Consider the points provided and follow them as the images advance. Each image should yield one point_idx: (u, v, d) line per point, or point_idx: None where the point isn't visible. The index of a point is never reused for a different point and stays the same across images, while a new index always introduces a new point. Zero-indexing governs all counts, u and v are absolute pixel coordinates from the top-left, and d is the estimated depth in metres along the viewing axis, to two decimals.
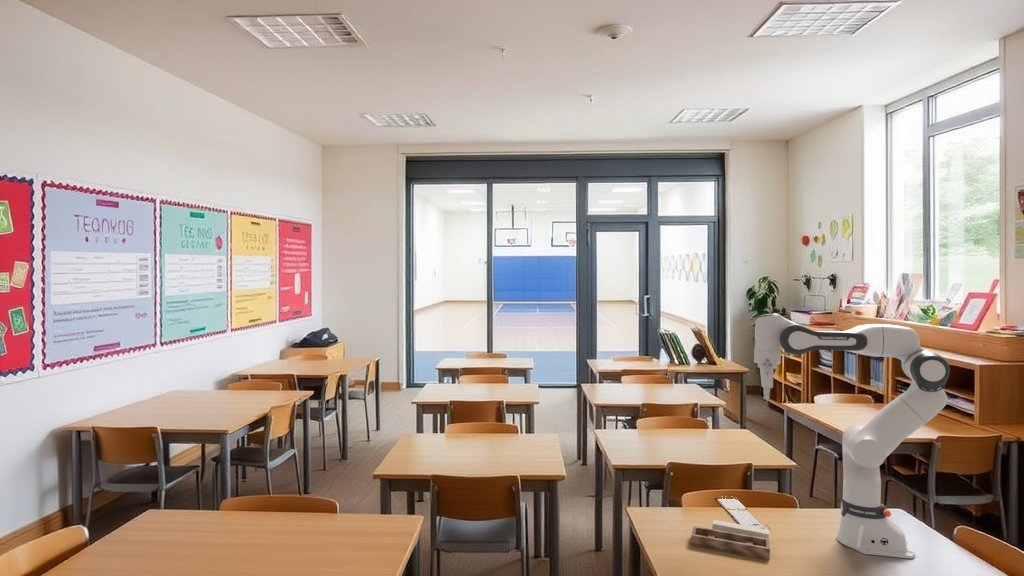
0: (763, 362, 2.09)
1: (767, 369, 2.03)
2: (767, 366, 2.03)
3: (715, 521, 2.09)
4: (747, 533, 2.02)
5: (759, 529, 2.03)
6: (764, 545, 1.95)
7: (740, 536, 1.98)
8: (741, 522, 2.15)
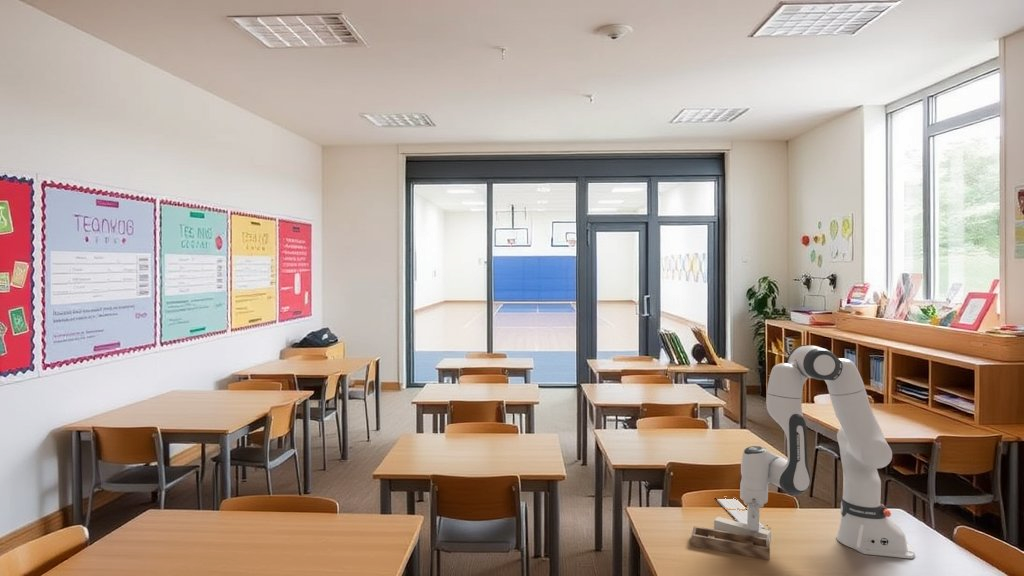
0: (749, 501, 1.99)
1: (753, 513, 1.93)
2: (753, 509, 1.93)
3: (719, 517, 2.11)
4: (747, 532, 2.02)
5: (760, 529, 2.02)
6: (764, 545, 1.95)
7: (740, 536, 1.98)
8: (741, 522, 2.15)
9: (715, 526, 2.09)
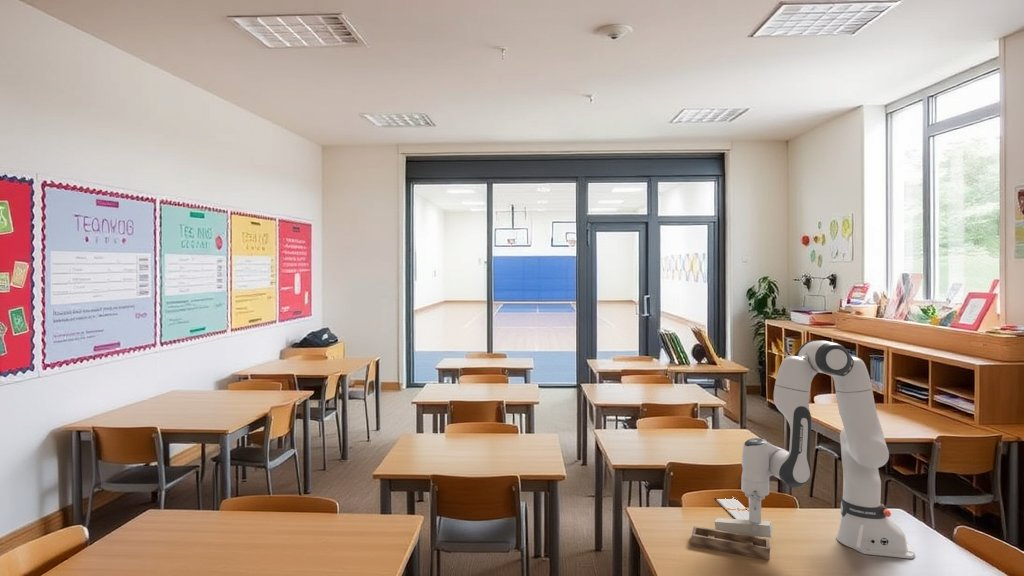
0: (751, 493, 1.99)
1: (755, 505, 1.93)
2: (755, 501, 1.93)
3: (718, 519, 2.10)
4: (749, 527, 2.01)
5: None
6: (764, 545, 1.95)
7: (740, 536, 1.98)
8: None
9: (716, 528, 2.07)
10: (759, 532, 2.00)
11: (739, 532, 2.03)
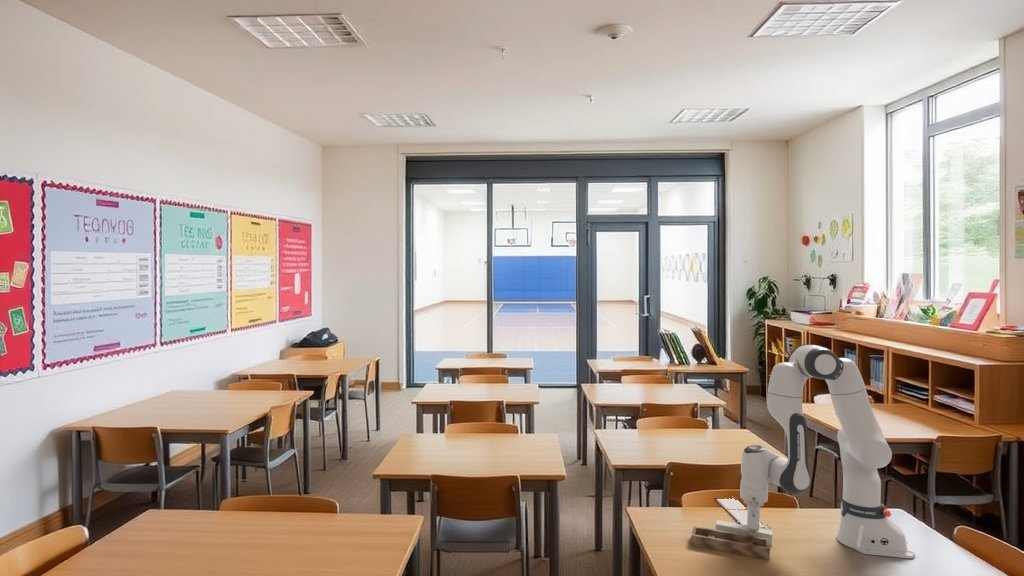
0: (749, 500, 1.99)
1: (753, 512, 1.93)
2: (753, 508, 1.93)
3: (719, 521, 2.08)
4: None
5: (762, 529, 2.02)
6: (764, 545, 1.95)
7: (740, 536, 1.98)
8: (741, 522, 2.15)
9: None
10: None
11: None
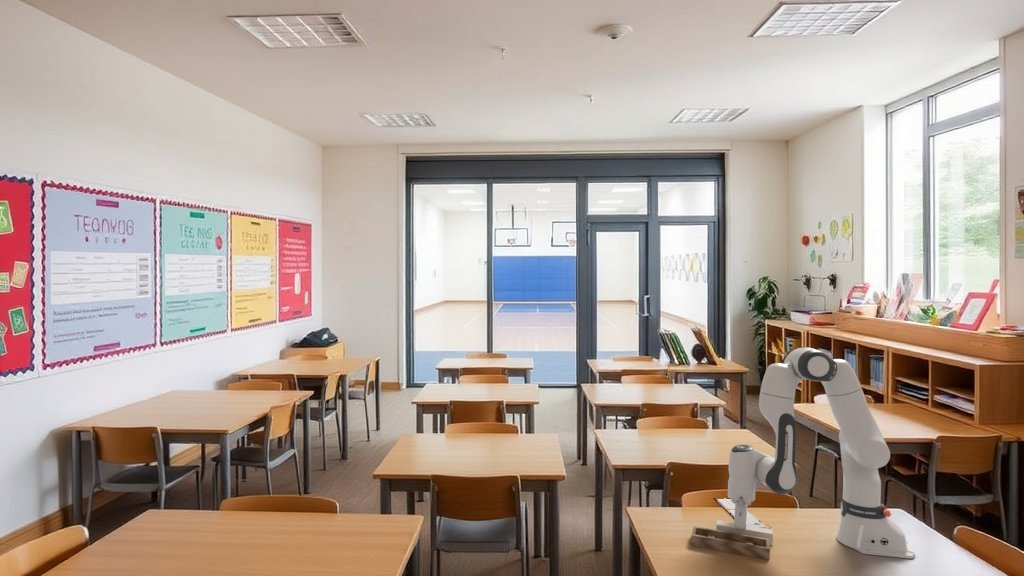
0: (737, 499, 2.01)
1: (740, 511, 1.95)
2: (740, 507, 1.95)
3: (719, 521, 2.08)
4: (751, 533, 2.01)
5: (762, 529, 2.03)
6: (764, 545, 1.95)
7: (740, 536, 1.98)
8: None
9: None
10: None
11: None
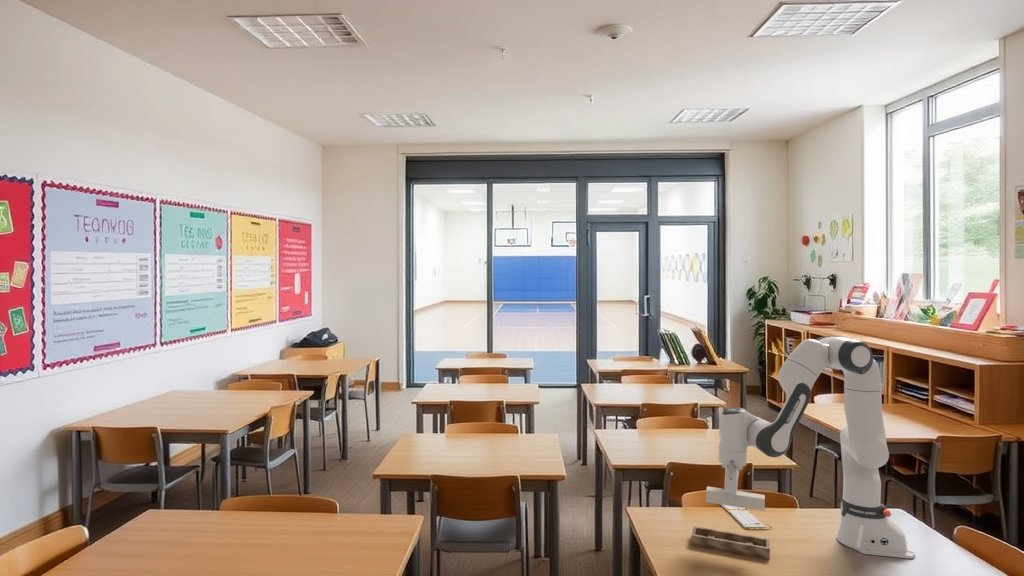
0: (727, 463, 1.92)
1: (730, 474, 1.86)
2: (730, 471, 1.86)
3: (709, 487, 2.00)
4: (742, 499, 1.93)
5: (754, 494, 1.94)
6: (764, 545, 1.95)
7: (740, 536, 1.98)
8: (742, 521, 2.15)
9: (707, 496, 1.97)
10: (752, 505, 1.92)
11: (731, 503, 1.94)
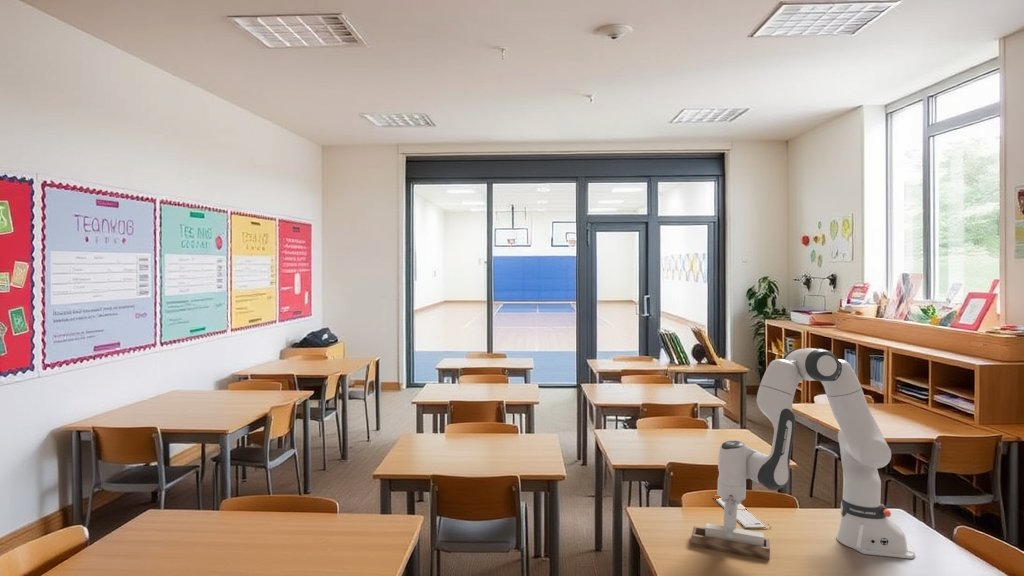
0: (726, 497, 1.93)
1: (729, 509, 1.86)
2: (730, 506, 1.87)
3: (708, 524, 2.00)
4: (741, 537, 1.93)
5: (753, 532, 1.94)
6: (764, 545, 1.95)
7: None
8: (742, 521, 2.15)
9: (706, 534, 1.97)
10: (751, 543, 1.92)
11: None
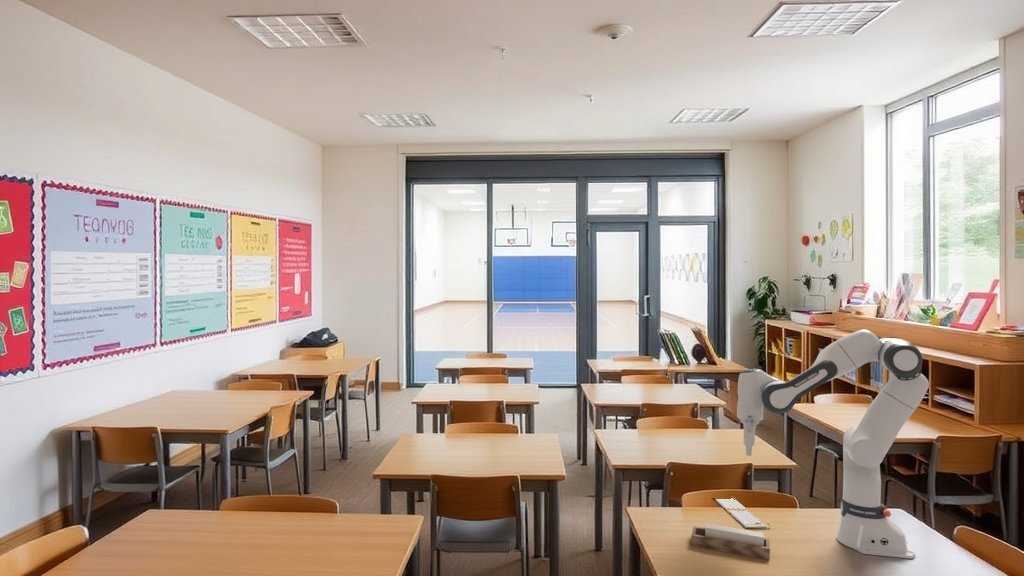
0: (745, 418, 2.10)
1: (749, 427, 2.04)
2: (749, 424, 2.04)
3: (708, 524, 2.00)
4: (741, 537, 1.93)
5: (753, 532, 1.94)
6: (764, 545, 1.95)
7: None
8: (743, 521, 2.16)
9: (706, 534, 1.97)
10: (751, 543, 1.92)
11: None
